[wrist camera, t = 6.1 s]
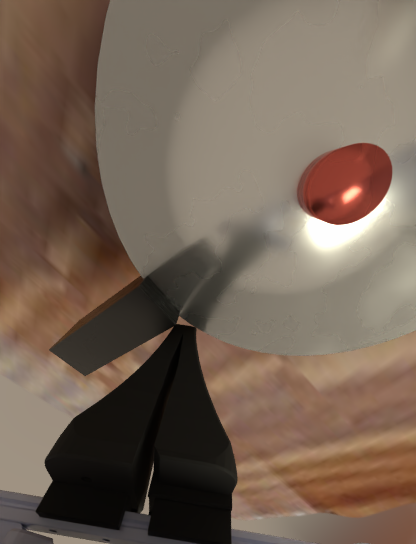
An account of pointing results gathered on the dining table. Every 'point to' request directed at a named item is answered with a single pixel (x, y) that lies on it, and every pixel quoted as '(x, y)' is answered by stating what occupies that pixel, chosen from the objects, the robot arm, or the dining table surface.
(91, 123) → the dining table surface
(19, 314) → the dining table surface
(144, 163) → the cooker lid
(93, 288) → the dining table surface
